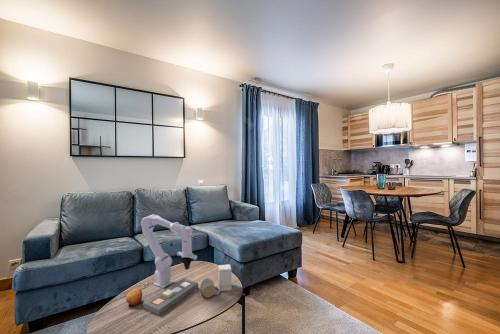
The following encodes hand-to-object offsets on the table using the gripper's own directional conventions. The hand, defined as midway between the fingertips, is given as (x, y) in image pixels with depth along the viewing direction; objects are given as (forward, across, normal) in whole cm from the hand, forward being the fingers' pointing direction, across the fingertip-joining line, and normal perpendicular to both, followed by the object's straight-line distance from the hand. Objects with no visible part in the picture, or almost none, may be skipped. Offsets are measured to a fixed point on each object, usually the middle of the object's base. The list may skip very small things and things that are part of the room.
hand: (187, 268), depth 142 cm
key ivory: (+9, +2, -4) cm, 10 cm away
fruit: (+10, -13, -27) cm, 31 cm away
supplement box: (+11, +22, +9) cm, 26 cm away
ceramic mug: (+11, +18, 0) cm, 21 cm away
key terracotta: (+9, +2, -23) cm, 25 cm away
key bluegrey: (+9, +2, -10) cm, 14 cm away
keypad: (+10, +2, -13) cm, 17 cm away
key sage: (+8, +2, -17) cm, 18 cm away
